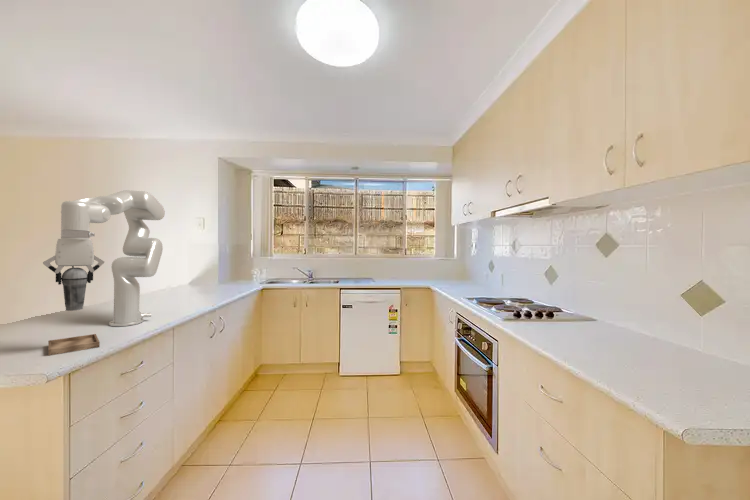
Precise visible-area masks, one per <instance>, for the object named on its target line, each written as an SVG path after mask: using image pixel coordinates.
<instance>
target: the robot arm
mask: <svg viewBox="0 0 750 500" xmlns="http://www.w3.org/2000/svg"><path fill="white" fill-rule="evenodd" d="M159 201H160V200H158V199H157V198H156V197H155V195H153V194H152V193H150V192H148V191H145V190H144V191H143V190H129V189H127V190H121V191H117V192H115V193H111V194H108V195H100V196H95V197H86V198H79V199H75V200H72V201H71V200H69V201H67V200H65V201H63V202H62V203H61V205H60V206H61V208H60V214H61V215H60V238H57V241H56V243H55V245H56V246H55V253H54V254H55V255H53V256H52V257H50V258H48V259H46V260H45V261H43V262H42V264H43V265H44V266H45V267H46V268H47V269H49V270H50V271H52V272H53V273H55V283H57V284H58V285H59V286H61V285H62V279H61V278H62V273H61V271H62V269H63V268H64V267H72V266H74V267H86V268H87V269H88V271H87V275H88V281H87V284H91V283H92V282H93V281H94V273H95V272H96V271H97V270H98V269H99V268H100V267H101V266H102V265H104V263H105V261H104V260H103V259H101V258H99V257H98V256H97V255H95V253H94V252H95V250H94V243H93V239H90V238H91V237H95V232H91V231H90V226H91V225H90V224H103V223H106V222H108V221H109V220H110V219H111V216H114V215H115V216H116V215H119V214H122V213H123V214H124V216H125V219H126V222H127V225H128V231H127V234H126V237H125V239H124V241H123V245H122V253H123V254H124V255H125V256H122V257H121V256H120V257H117V258H115V259H114V260H113V261H112V263H111V265H110V266H111V272H112V273H111V274H112V276H113V277H112V278H113V320H111V321H109V322H108V325H109V326H111V327H127V326H134V325H139V324H141V323H143V322H144V318H152V313H151V312H148V313H147V312H143V313H141V312H140V296H141V295H140V292H141V291H140V290H141V287H140V283H139V282H138V281H139V280H137V279H136V278H152V277H154V275H156V273H157V271H158V269H159V268H158V267H159V265H160V261H161V258H162V254H163V249H164V247H163V242H162V241H161V240H160V239H159V238H155V237H149V236H150V233H151V230H150V228H149V227H148V226H147V224H146V223H145V222H144V221H161V220H162V219H164V217H165V212H166V211H165V209H164V206H163V205H162V203H161V202H159ZM54 261H55V262H54ZM95 261H96V262H97V263H96V264H95V263H94V262H95ZM52 262H54V263H55V264H56V266H57V267H55V266H54V265H52V264H51V263H52ZM94 264H95V265H94ZM92 265H94V266H92Z"/></svg>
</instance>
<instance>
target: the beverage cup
mask: <svg viewBox="0 0 750 500" xmlns="http://www.w3.org/2000/svg"><path fill="white" fill-rule="evenodd" d="M87 284H88V272H87V271H86V270H85V269H83V268H81V267H75V266H71V267H69V268H67V269H65V270H64V272H63V273H61V285H62V287H63V288H62V289H63V298H64V307H65V311H66V312H67V311H68V312H70V311H71V312H72V311H74V312H75V311H79V310H83V309H84V305H85V304H84V303H85V296H86V288H87Z"/></svg>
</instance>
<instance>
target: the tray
mask: <svg viewBox="0 0 750 500" xmlns="http://www.w3.org/2000/svg"><path fill="white" fill-rule="evenodd" d="M47 347H48V349H47V350H48V355H47V356H54V355H60V354H67V353H72V352H79V351H86V350H90V349H91V350H92V349H95V348H96V349H97V348H100V340H99V338H98V336H97V333H94V334H85V335H77V336H72V337H65V338H64V337H63V338H58V339H57V338H56V339H51V340H48V346H47Z"/></svg>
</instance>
